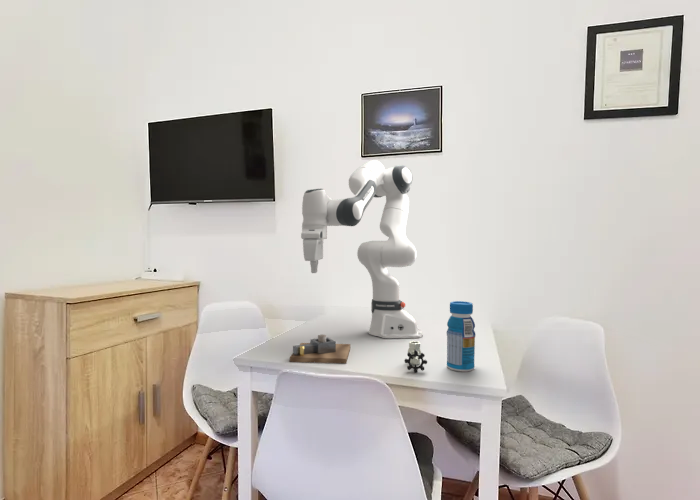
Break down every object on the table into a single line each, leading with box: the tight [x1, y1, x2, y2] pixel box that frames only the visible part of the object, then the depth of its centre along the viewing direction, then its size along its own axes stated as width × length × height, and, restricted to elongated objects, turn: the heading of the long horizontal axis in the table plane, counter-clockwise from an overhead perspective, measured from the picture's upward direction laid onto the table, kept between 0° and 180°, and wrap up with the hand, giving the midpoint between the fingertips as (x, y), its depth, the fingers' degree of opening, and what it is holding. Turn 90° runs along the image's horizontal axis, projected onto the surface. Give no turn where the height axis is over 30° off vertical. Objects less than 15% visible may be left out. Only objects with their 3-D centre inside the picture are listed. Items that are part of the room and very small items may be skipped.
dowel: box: [300, 346, 304, 356], centre depth 126 cm, size 1×1×4 cm
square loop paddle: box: [292, 336, 337, 356], centre depth 130 cm, size 13×6×4 cm, turn 119°
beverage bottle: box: [446, 300, 476, 373], centre depth 119 cm, size 8×8×20 cm
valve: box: [403, 340, 428, 374], centre depth 121 cm, size 7×7×12 cm
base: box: [289, 334, 351, 364], centre depth 133 cm, size 18×18×6 cm
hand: (314, 272), depth 140 cm, fingers closed
